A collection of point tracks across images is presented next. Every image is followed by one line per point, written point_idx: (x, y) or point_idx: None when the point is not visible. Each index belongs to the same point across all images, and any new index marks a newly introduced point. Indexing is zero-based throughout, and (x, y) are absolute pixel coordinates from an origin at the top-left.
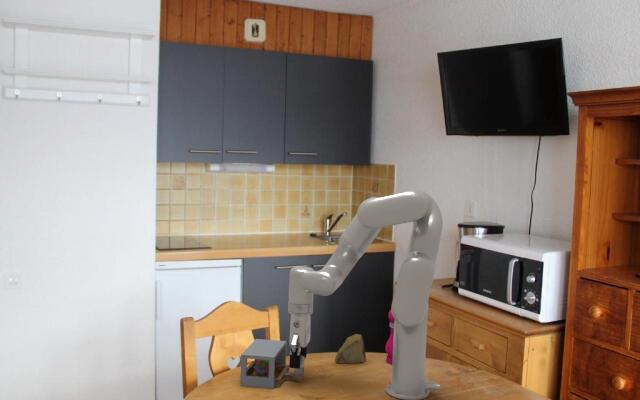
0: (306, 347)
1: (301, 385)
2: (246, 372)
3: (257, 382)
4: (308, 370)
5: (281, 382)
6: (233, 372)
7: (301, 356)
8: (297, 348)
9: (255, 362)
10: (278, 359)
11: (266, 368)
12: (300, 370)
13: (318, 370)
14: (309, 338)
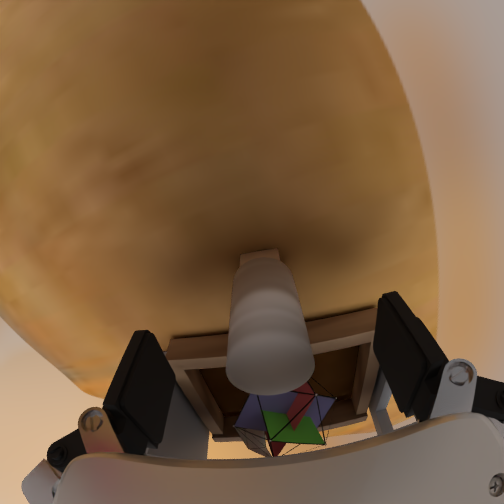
0: (115, 394)
1: (322, 229)
2: (379, 419)
3: None
4: (99, 274)
5: (341, 318)
6: None
7: (250, 365)
8: (160, 424)
9: (216, 435)
10: (174, 408)
11: (293, 408)
12: (295, 289)
13: (72, 233)
14: (130, 497)
